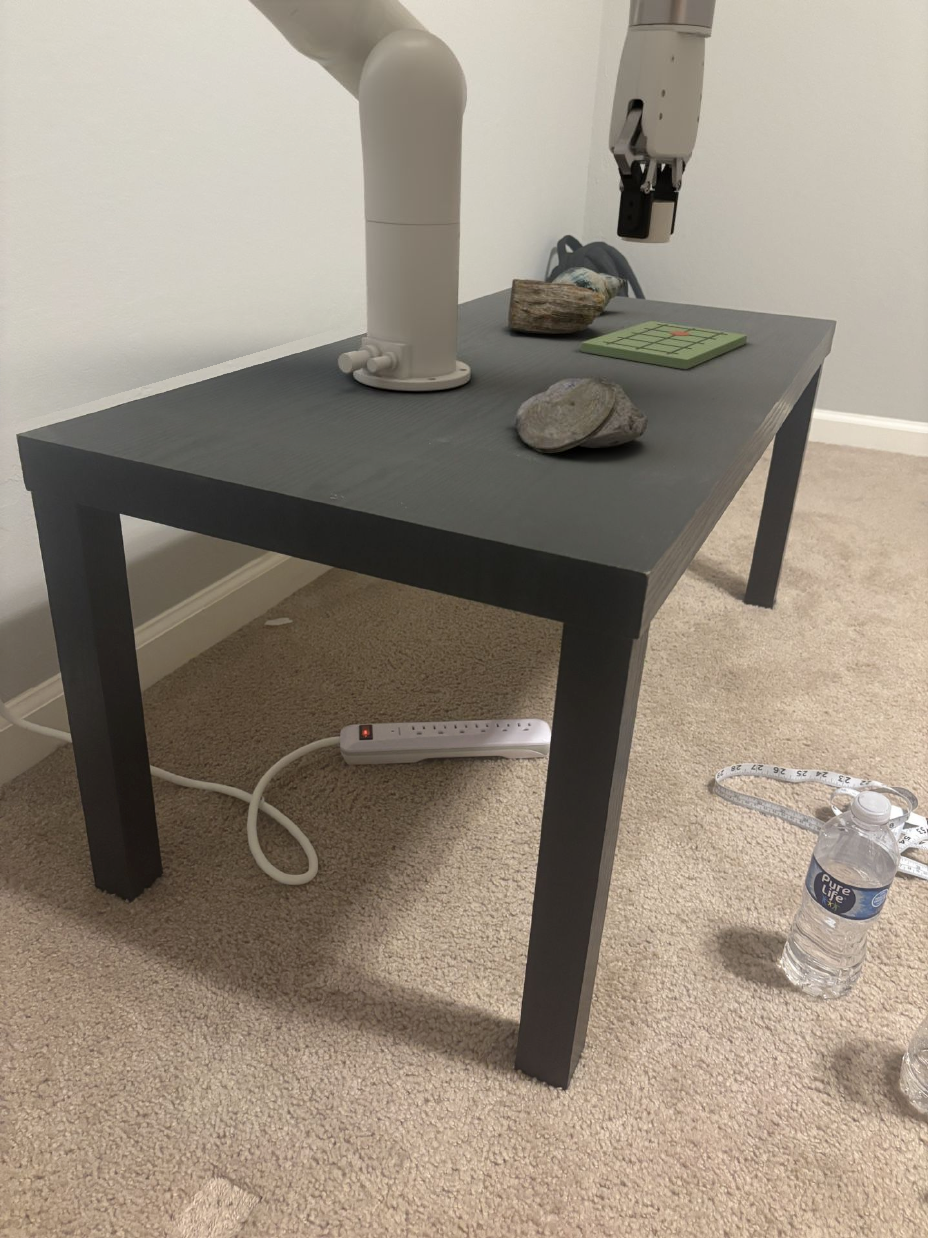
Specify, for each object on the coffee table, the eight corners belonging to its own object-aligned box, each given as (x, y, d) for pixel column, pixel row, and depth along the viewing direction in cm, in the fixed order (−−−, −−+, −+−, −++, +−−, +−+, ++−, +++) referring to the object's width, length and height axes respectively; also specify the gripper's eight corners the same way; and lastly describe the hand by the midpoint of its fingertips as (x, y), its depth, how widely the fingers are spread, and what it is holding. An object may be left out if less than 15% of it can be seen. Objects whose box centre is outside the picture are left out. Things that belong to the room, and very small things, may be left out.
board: (686, 369, 105) (687, 358, 105) (580, 351, 112) (581, 341, 112) (745, 343, 120) (747, 334, 119) (649, 329, 127) (650, 319, 126)
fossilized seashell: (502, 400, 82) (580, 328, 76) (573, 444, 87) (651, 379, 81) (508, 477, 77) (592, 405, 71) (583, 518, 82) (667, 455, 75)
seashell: (546, 316, 142) (620, 323, 138) (532, 301, 135) (610, 308, 131) (553, 275, 141) (628, 280, 137) (540, 258, 134) (619, 263, 130)
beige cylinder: (656, 244, 87) (661, 203, 85) (612, 239, 90) (616, 199, 88) (677, 240, 90) (682, 201, 89) (634, 236, 93) (638, 198, 91)
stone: (608, 299, 127) (606, 248, 118) (605, 361, 124) (603, 313, 114) (513, 302, 130) (504, 253, 120) (508, 363, 126) (498, 317, 117)
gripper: (672, 27, 89) (649, 227, 98) (587, 7, 77) (569, 237, 86) (745, 25, 85) (714, 233, 94) (668, 3, 73) (640, 245, 82)
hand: (645, 233), depth 90 cm, fingers closed on beige cylinder, 4 cm apart
